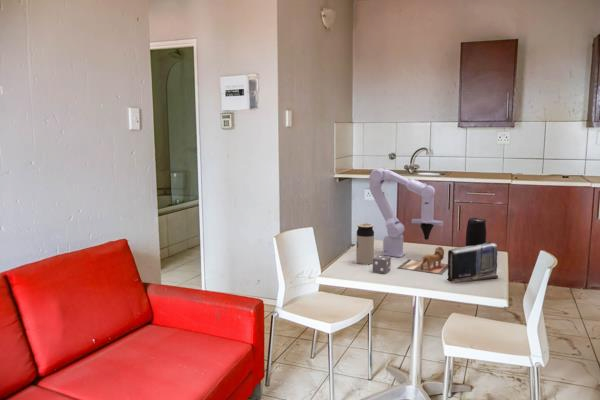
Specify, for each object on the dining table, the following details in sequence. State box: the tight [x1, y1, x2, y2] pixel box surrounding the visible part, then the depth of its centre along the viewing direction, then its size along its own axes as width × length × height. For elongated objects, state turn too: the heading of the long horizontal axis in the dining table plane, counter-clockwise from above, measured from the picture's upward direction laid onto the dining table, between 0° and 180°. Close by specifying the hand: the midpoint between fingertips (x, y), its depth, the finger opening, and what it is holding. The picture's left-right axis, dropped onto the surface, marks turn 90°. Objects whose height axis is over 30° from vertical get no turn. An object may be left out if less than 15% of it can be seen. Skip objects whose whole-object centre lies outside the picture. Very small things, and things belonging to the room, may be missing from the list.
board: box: [397, 258, 448, 275], centre depth 227 cm, size 20×17×1 cm
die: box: [372, 255, 392, 275], centre depth 220 cm, size 6×6×6 cm
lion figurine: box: [420, 246, 445, 270], centre depth 224 cm, size 15×5×9 cm, turn 130°
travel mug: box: [356, 222, 375, 265], centre depth 234 cm, size 8×8×18 cm
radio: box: [446, 241, 499, 284], centre depth 209 cm, size 23×9×15 cm, turn 100°
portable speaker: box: [465, 217, 487, 247], centre depth 238 cm, size 9×9×20 cm
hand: (426, 239), depth 241 cm, fingers closed
